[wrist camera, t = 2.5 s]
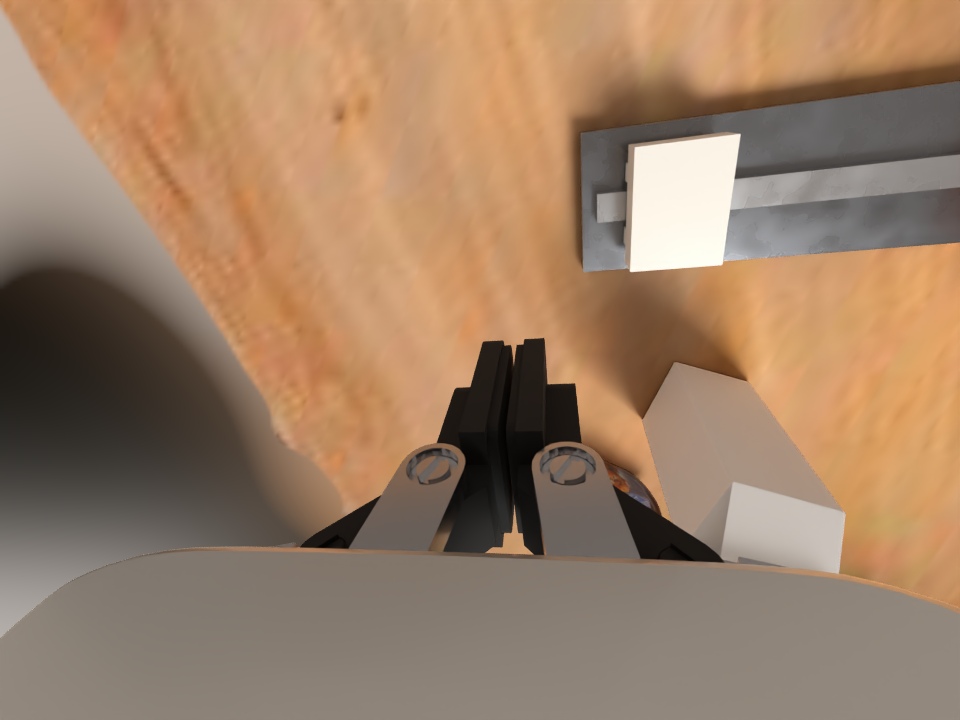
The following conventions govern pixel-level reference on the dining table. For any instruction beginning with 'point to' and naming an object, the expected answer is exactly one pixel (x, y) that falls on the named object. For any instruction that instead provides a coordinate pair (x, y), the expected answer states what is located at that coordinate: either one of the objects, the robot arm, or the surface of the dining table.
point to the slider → (679, 201)
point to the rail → (804, 175)
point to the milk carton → (739, 474)
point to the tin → (631, 486)
